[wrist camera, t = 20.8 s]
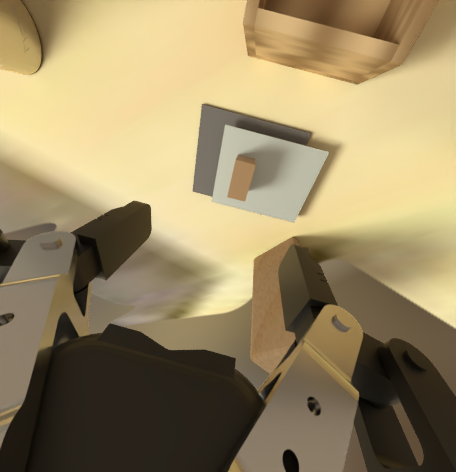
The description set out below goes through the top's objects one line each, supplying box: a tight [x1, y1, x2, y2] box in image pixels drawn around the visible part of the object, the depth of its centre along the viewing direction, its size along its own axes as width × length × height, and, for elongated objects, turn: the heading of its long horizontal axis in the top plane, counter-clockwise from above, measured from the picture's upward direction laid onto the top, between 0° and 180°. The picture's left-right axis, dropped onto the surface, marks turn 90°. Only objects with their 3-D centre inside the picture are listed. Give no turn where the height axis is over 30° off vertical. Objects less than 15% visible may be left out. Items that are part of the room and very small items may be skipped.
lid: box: [212, 125, 329, 222], centre depth 26 cm, size 15×11×7 cm
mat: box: [193, 104, 311, 196], centre depth 28 cm, size 16×13×1 cm
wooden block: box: [250, 237, 301, 374], centre depth 29 cm, size 10×10×20 cm
